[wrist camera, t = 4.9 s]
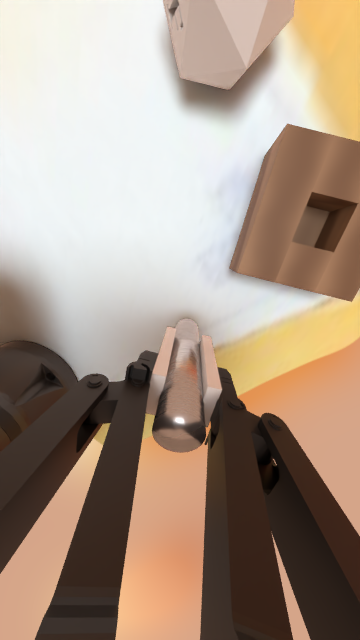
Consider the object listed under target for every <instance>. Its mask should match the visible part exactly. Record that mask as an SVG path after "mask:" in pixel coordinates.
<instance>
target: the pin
mask: <svg viewBox="0 0 360 640" xmlns="http://www.w3.org/2000/svg"><path fill="white" fill-rule="evenodd" d="M175 328H176V333H175V337H174V342H173V347H172V352H171V357H170V361H169V366H168V371H167V376H166V380H165V384H164V388H163V391H162V392H161V394H160V397H159V401H158V406H157V410H156V414H155V419H154V423H153V428H152V434H153V437H154V439H155V441H156V442H157V443H158V444H159V445H160V446H162V447H163V448H165V449H167V450H170V451H173V452H189V451H192V450H195V449H196V448H198V447H199V446H201V445H202V443H203V442H204V440H205V437H206V428H205V414H204V400H203V386H202V372H201V359H200V345H199V331H198V325H197V324H196V322H195V321H193V320H191V319H187V318H186V319H182V320H180V321H179V322H178V323H177V324H176V326H175Z"/></svg>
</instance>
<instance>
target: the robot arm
mask: <svg viewBox="0 0 360 640" xmlns="http://www.w3.org/2000/svg"><path fill="white" fill-rule="evenodd" d="M175 333H176V328H172V327H167V330H166V333H165V336H164V339H163V342H162V345H161V348H160V351H159V354H158V353H154V352H150V351H144V352H143V353H141V354H140V356H139V359H138V360H137V362H132V363H130V364H129V365H128V366H127V371H126V377H125V380H123V381H120V382H109V381H108V378H107V377H106V376H104V375H102V374H90V375H87V376H85V377H84V378H82V379H81V380H80V381H79V382H77V379H76V377H75V375H74V373H73V371H72V370H71V369H70V367H69V366H68V365H67V364H66V362H65V361H64V360H63V359H61V358H60V357H59V356H58V355H57V354H55V353H54V352H52V351H51V350H49V349H47V348H45V347H43V346H41V345H38V344H35V343H31V342H26V341H12V342H8V343H5V344H3V345H0V573H1V572H2V571H3V569H4V568H5V566H6V565H7V563H8V562H9V560H10V559H11V557H12V556H13V554H14V553H15V552H16V550H17V549H18V547H19V546H20V544H21V543H22V541H23V540H24V538H25V537H26V535H27V534H28V533H29V531H30V530H31V528H32V527H33V525H34V524H35V522H36V521H37V519H38V518H39V516H40V515H41V513H42V512H43V511H44V509H45V508H46V506H47V505H48V503H49V502H50V500H51V499H52V498H53V496H54V495H55V493H56V492H57V490H58V489H59V487H60V486H61V484H62V483H63V482H64V480H65V479H66V477H67V476H68V474H69V473H70V471H71V470H72V468H73V467H74V465H75V464H76V462H77V461H78V460H79V458H80V457H81V455H82V454H83V452H84V451H85V449H86V448H87V446H88V445H89V443H90V442H91V441H92V439H93V438H94V436H95V435H96V433H97V432H98V430H99V429H100V428H101V426H102V424H103V423H111V424H110V427H109V430H108V433H107V436H106V439H105V442H104V445H103V448H102V451H101V454H100V457H99V460H98V463H97V466H96V469H95V472H94V475H93V478H92V481H91V484H90V487H89V491H88V493H87V497H86V499H85V503H84V505H83V508H82V511H81V514H80V517H79V520H78V524H77V527H76V530H75V532H74V536H73V539H72V542H71V545H70V548H69V551H68V554H67V557H66V560H65V563H64V566H63V569H62V572H61V575H60V578H59V581H58V584H57V587H56V590H55V593H54V596H53V598H52V601H51V603H50V606H49V608H48V610H47V612H46V614H45V615H44V618H43V620H42V622H41V625H40V627H39V630H38V632H37V635H36V638H35V640H115V637H116V628H117V619H118V605H119V597H120V589H121V582H122V575H123V567H124V561H125V554H126V547H127V540H128V532H129V526H130V519H131V511H132V505H133V498H134V491H135V484H136V477H137V470H138V463H139V456H140V449H141V442H142V435H143V428H144V421H145V414H146V413H148V414H152V415H155V414H156V410H157V406H158V401H159V397H160V394H161V392H162V391H163V388H164V384H165V380H166V376H167V371H168V366H169V361H170V357H171V352H172V347H173V342H174V337H175ZM199 345H200V359H201V372H202V386H203V400H204V414H205V427H208V425H209V422H211V429H210V431H209V434H208V436H207V439H206V442H205V445H207V443H208V458H207V482H206V485H207V486H206V508H205V533H204V559H203V584H202V609H201V635H200V640H293V637H292V632H291V627H290V623H289V617H288V612H287V607H286V602H285V598H284V593H283V587H282V582H281V578H280V573H279V568H278V563H277V558H276V553H275V548H274V543H273V538H272V534H273V537H274V540H275V542H276V545H277V548H278V551H279V553H280V556H281V559H282V562H283V565H284V567H285V570H286V573H287V576H288V578H289V581H290V584H291V587H292V590H293V592H294V595H295V598H296V601H297V603H298V606H299V609H300V612H301V614H302V617H303V620H304V623H305V625H306V628H307V631H308V634H309V636H310V639H311V640H360V536H359V535H358V533H357V532H356V530H355V529H354V527H353V526H352V524H351V523H350V521H349V520H348V518H347V516H346V515H345V514H344V512H343V510H342V509H341V507H340V506H339V504H338V503H337V501H336V500H335V498H334V497H333V495H332V494H331V492H330V491H329V489H328V488H327V486H326V484H325V483H324V481H323V480H322V478H321V477H320V475H319V474H318V472H317V471H316V469H315V468H314V467H313V465H312V463H311V462H310V460H309V459H308V457H307V456H306V454H305V452H304V451H303V449H302V448H301V446H300V445H299V443H298V442H297V440H296V439H295V437H294V436H293V434H292V433H291V431H290V430H289V428H288V427H287V425H286V424H285V423H284V422H283V421H282V420H281V419H280V418H279V417H277V416H275V415H273V414H270V413H264V414H263V415H262V416H261V418H260V417H258V416H256V415H254V414H252V413H250V412H248V411H247V410H246V407H245V404H244V403H243V402H242V401H241V400H240V399H238V398H237V394H236V391H235V388H234V385H233V381H232V378H231V375H230V373H229V372H228V371H227V370H226V369H223V368H219V367H217V363H216V359H215V354H214V349H213V344H212V340H211V337H209V336H205V335H202V337H201V341H200V344H199ZM273 458H274V460H275V462H276V464H277V465H276V464H275V463H274V460H273ZM271 531H272V533H271Z"/></svg>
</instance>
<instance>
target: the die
mask: <svg viewBox="0 0 360 640" xmlns="http://www.w3.org/2000/svg"><path fill="white" fill-rule="evenodd" d="M294 1H295V0H163V3H164V8H165V12H166V17H167V21H168V26H169V30H170V35H171V39H172V44H173V48H174V53H175V57H176V62H177V67H178V71H179V76H180V78H183V79H187V80H191V81H195V82H199V83H203V84H206V85H210V86H214V87H218V88H222V89H226V90H230V89H231V88H232V87H233V85H234V84H235V83H236V82H237V81H238V80H239V79H240V77H241V76H242V75H243V74H244V73H245V72H246V70H247V69H248V68H249V67H250V66H251V65H252V64H253V62H254V61H255V60H256V59H257V58H258V57H259V55H260V54H261V53H262V52H263V51H264V50H265V49H266V47H267V46H268V45H269V44H270V43H271V42H272V41H273V39H274V38H275V37H276V36H277V35H278V34H279V32H280V31H281V30H282V29H283V28H284V27H285V26H286V24H287V23H288V22H289V21H290V20H291V19H292V17H293V14H294Z"/></svg>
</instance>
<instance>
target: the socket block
mask: <svg viewBox="0 0 360 640" xmlns="http://www.w3.org/2000/svg"><path fill="white" fill-rule="evenodd" d="M229 268H230V269H231V270H233V271H235V272H237V273H240V274H244V275H248V276H252V277H256V278H260V279H264V280H268V281H272V282H276V283H280V284H284V285H288V286H292V287H295V288H299V289H303V290H307V291H311V292H315V293H319V294H323V295H327V296H331V297H335V298H339V299H343V300H347V301H351V302H352V300H353V299H354V297H355V295H356V293H357V292H358V290H359V288H360V142H358V141H354V140H350V139H346V138H342V137H338V136H334V135H330V134H326V133H322V132H318V131H314V130H310V129H306V128H302V127H298V126H294V125H290V124H287V125H286V126H285V128H284V129H283V131H282V132H281V133H280V135H279V136H278V138H277V139H276V141H275V142H274V143H273V145H272V146H271V148H270V149H269V150H268V152H267V153H266V155H265V157H264V160H263V163H262V167H261V170H260V173H259V176H258V179H257V182H256V185H255V189H254V192H253V195H252V198H251V201H250V204H249V207H248V211H247V214H246V217H245V220H244V223H243V226H242V229H241V233H240V236H239V239H238V242H237V245H236V248H235V251H234V255H233V258H232V261H231V264H230V267H229Z"/></svg>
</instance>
